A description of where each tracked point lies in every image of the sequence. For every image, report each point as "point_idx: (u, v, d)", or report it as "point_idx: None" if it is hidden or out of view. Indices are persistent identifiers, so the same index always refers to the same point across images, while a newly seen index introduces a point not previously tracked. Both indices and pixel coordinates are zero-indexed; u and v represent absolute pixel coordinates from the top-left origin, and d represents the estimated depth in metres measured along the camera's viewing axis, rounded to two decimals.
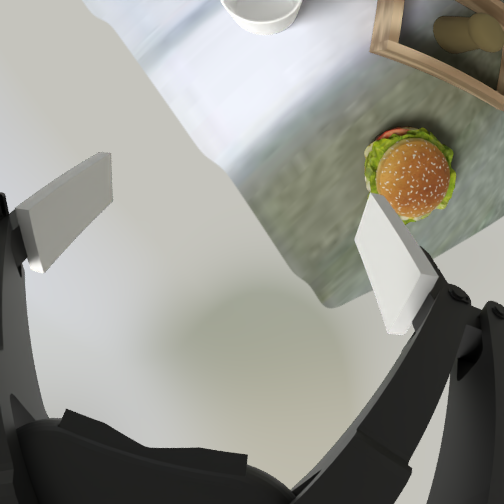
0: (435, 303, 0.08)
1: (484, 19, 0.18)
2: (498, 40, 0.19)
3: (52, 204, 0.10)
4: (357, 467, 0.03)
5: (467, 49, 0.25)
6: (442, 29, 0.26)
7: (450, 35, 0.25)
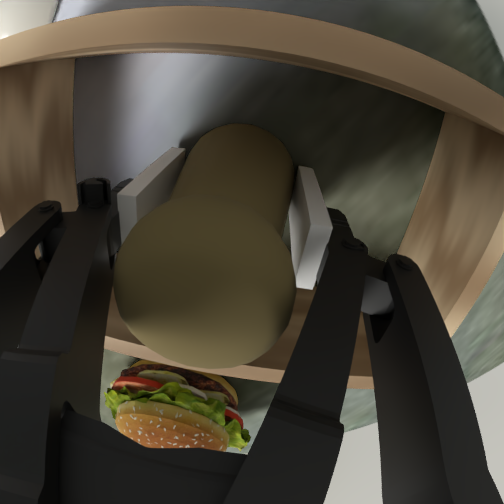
0: (328, 256, 0.09)
1: (130, 283, 0.07)
2: (220, 353, 0.08)
3: (150, 193, 0.11)
4: (283, 437, 0.04)
5: None
6: None
7: None
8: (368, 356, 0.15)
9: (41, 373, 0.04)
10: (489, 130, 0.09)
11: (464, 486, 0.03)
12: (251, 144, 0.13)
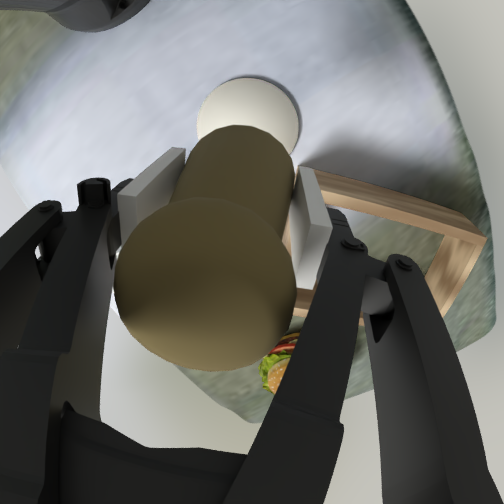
0: (328, 257, 0.09)
1: (131, 287, 0.07)
2: (221, 356, 0.08)
3: (150, 193, 0.11)
4: (283, 437, 0.04)
5: None
6: None
7: None
8: None
9: (41, 373, 0.04)
10: None
11: (464, 485, 0.03)
12: (251, 146, 0.13)
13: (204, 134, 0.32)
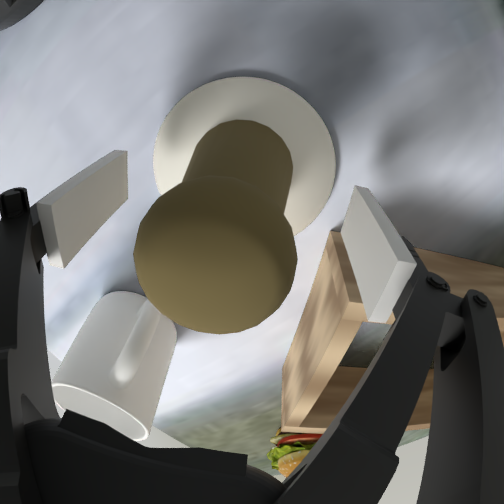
0: (413, 291, 0.08)
1: (153, 249, 0.08)
2: (230, 314, 0.09)
3: (73, 200, 0.10)
4: (342, 459, 0.03)
5: None
6: None
7: None
8: None
9: None
10: None
11: None
12: (254, 137, 0.14)
13: (168, 183, 0.18)
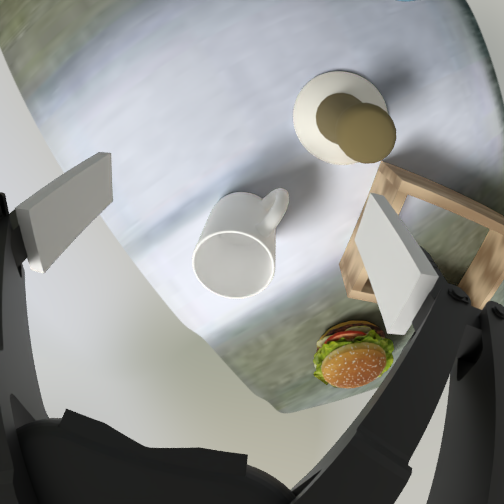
0: (435, 303, 0.08)
1: (357, 118, 0.21)
2: (377, 148, 0.22)
3: (52, 204, 0.10)
4: (357, 467, 0.03)
5: None
6: (321, 117, 0.29)
7: (326, 129, 0.28)
8: None
9: None
10: None
11: None
12: (359, 101, 0.27)
13: (300, 119, 0.31)
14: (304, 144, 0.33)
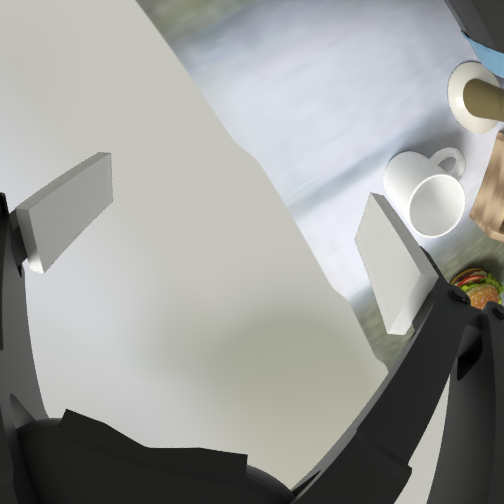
0: (435, 303, 0.08)
1: None
2: None
3: (52, 204, 0.10)
4: (357, 467, 0.03)
5: (494, 119, 0.28)
6: (472, 95, 0.29)
7: (479, 104, 0.28)
8: None
9: None
10: None
11: None
12: None
13: (453, 95, 0.31)
14: (455, 115, 0.33)
